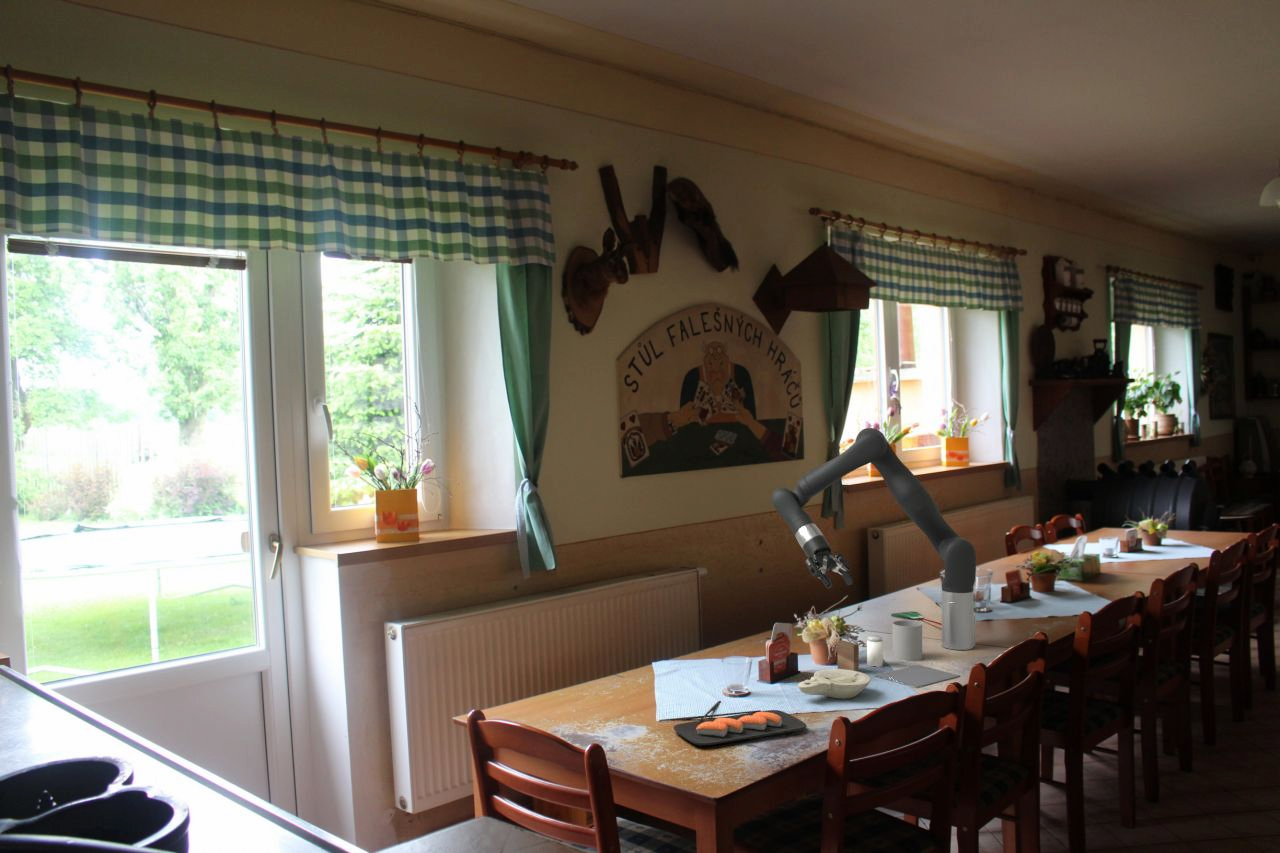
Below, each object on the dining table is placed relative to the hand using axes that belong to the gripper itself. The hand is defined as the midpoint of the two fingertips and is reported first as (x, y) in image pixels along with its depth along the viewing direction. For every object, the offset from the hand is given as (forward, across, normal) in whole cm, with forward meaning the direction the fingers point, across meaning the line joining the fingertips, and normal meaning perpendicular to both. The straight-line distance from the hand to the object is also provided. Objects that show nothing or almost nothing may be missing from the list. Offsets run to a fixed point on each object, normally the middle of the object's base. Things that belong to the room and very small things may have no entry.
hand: (840, 585), depth 291 cm
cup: (+24, +14, +6) cm, 28 cm away
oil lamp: (+34, -32, -4) cm, 47 cm away
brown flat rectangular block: (+24, -11, +6) cm, 27 cm away
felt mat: (+34, 0, -5) cm, 35 cm away
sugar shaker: (+24, 0, +6) cm, 25 cm away
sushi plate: (+34, -67, -3) cm, 75 cm away
